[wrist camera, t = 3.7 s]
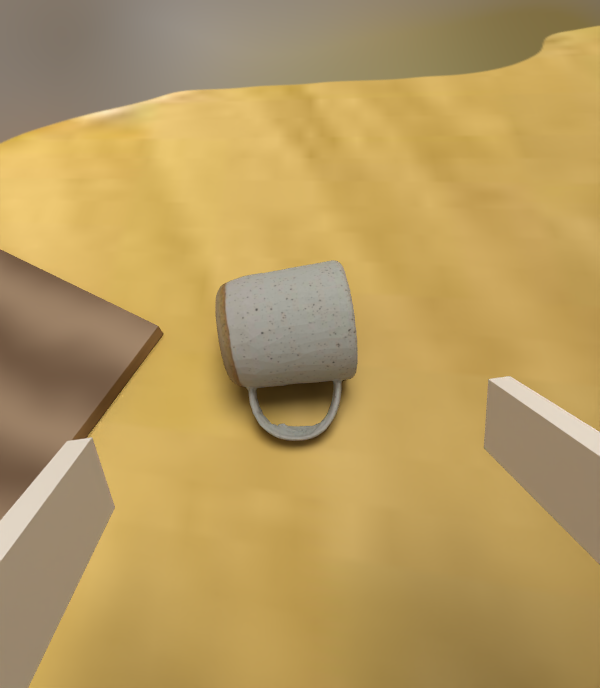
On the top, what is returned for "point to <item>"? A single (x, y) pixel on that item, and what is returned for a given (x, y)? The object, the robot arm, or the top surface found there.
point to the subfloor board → (57, 367)
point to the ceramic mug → (288, 335)
